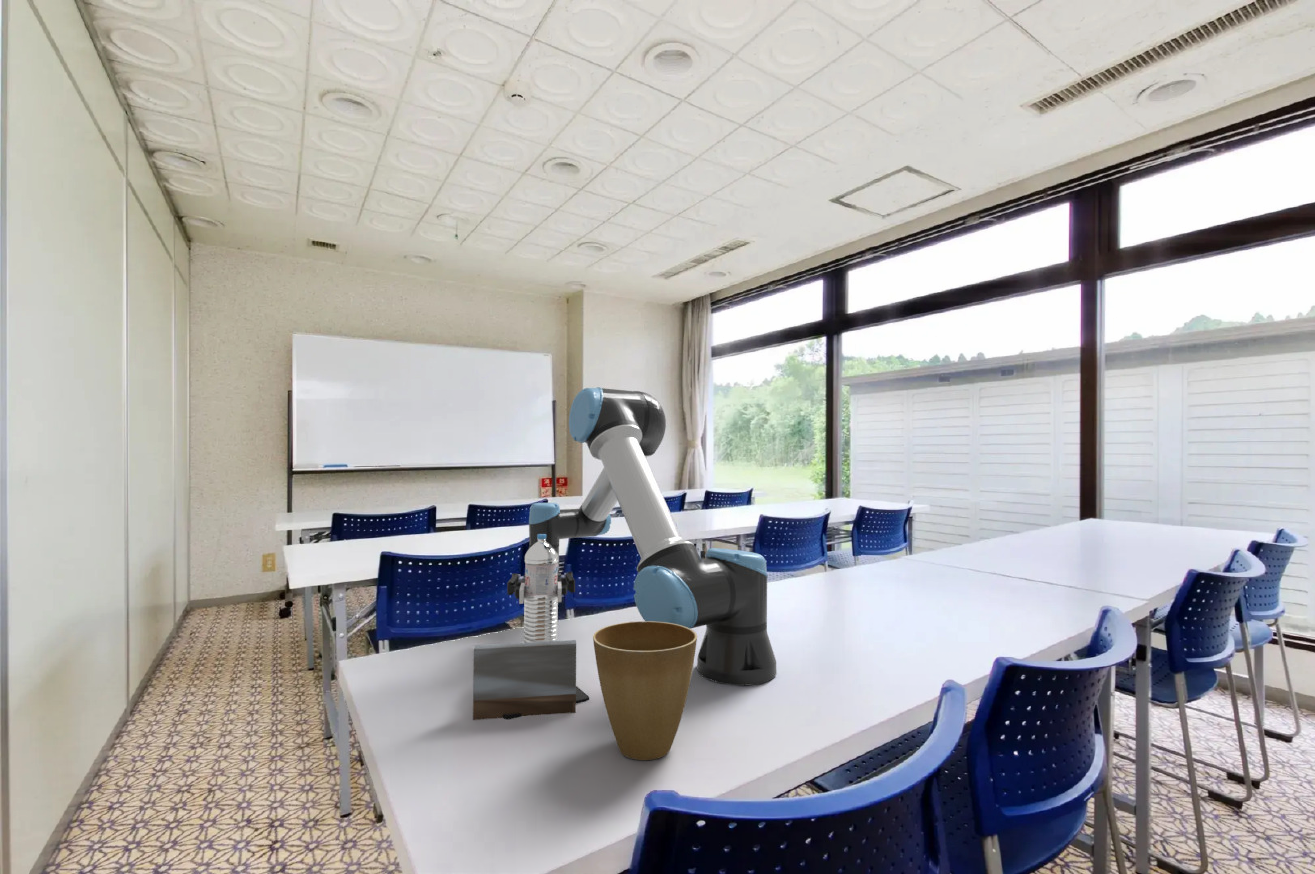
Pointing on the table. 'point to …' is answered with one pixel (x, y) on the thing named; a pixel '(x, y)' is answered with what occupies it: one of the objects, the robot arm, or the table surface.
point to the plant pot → (644, 683)
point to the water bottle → (541, 592)
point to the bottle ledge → (524, 679)
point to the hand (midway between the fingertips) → (540, 596)
